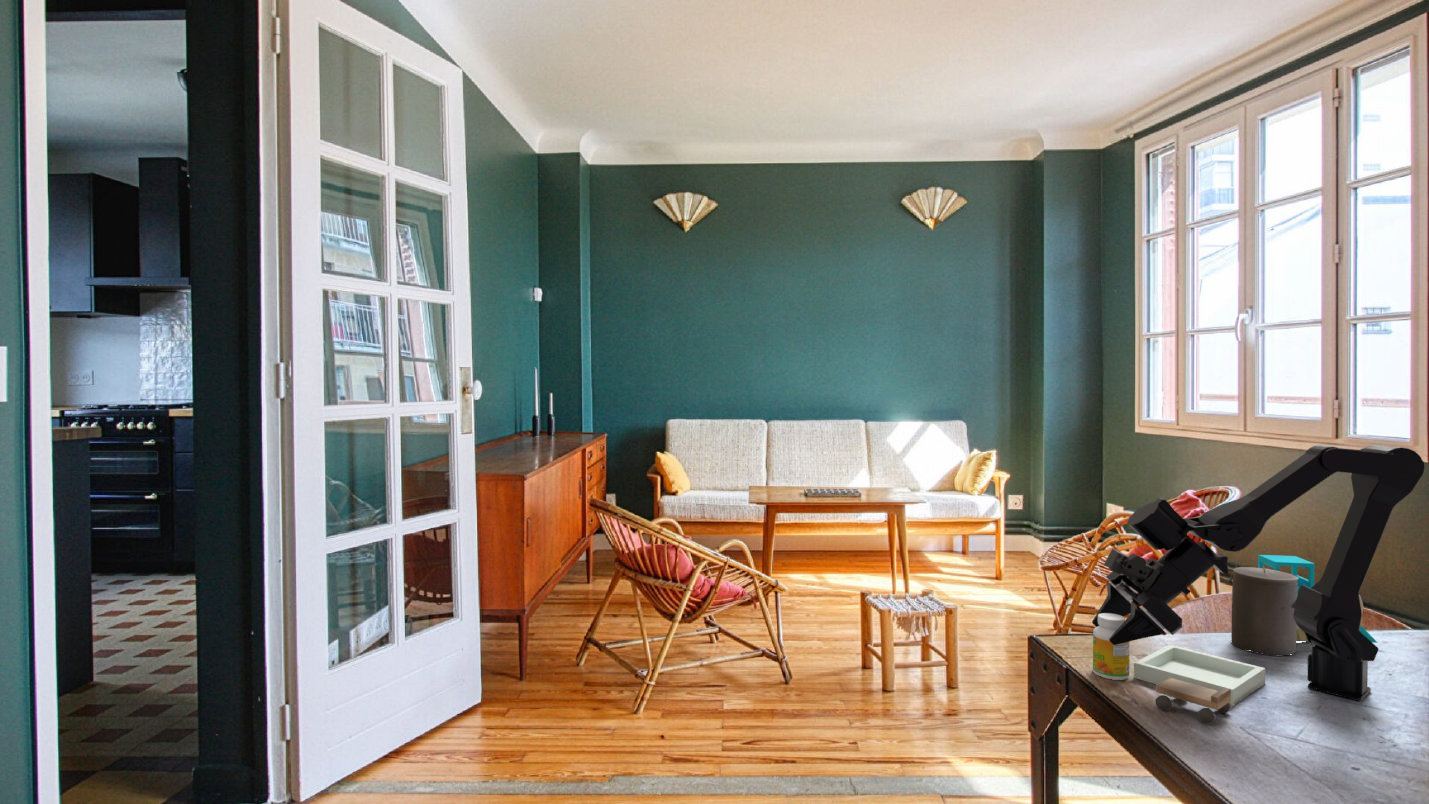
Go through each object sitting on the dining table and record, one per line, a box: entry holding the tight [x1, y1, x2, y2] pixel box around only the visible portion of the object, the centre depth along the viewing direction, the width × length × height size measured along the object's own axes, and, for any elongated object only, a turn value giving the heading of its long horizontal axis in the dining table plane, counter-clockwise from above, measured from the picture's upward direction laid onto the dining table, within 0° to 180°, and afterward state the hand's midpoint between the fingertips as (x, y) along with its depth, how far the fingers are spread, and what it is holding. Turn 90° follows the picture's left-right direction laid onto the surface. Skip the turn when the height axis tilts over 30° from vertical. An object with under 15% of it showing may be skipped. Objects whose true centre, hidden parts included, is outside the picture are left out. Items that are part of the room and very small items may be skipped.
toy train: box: [1257, 554, 1378, 644], centre depth 142 cm, size 8×17×15 cm, turn 78°
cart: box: [1154, 678, 1232, 725], centre depth 110 cm, size 8×7×4 cm
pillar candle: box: [1230, 565, 1299, 656], centre depth 137 cm, size 10×10×15 cm
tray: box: [1133, 644, 1266, 707], centre depth 121 cm, size 14×14×2 cm
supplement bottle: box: [1092, 613, 1131, 681], centre depth 124 cm, size 5×5×10 cm
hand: (1102, 633), depth 124 cm, fingers open, 9 cm apart
